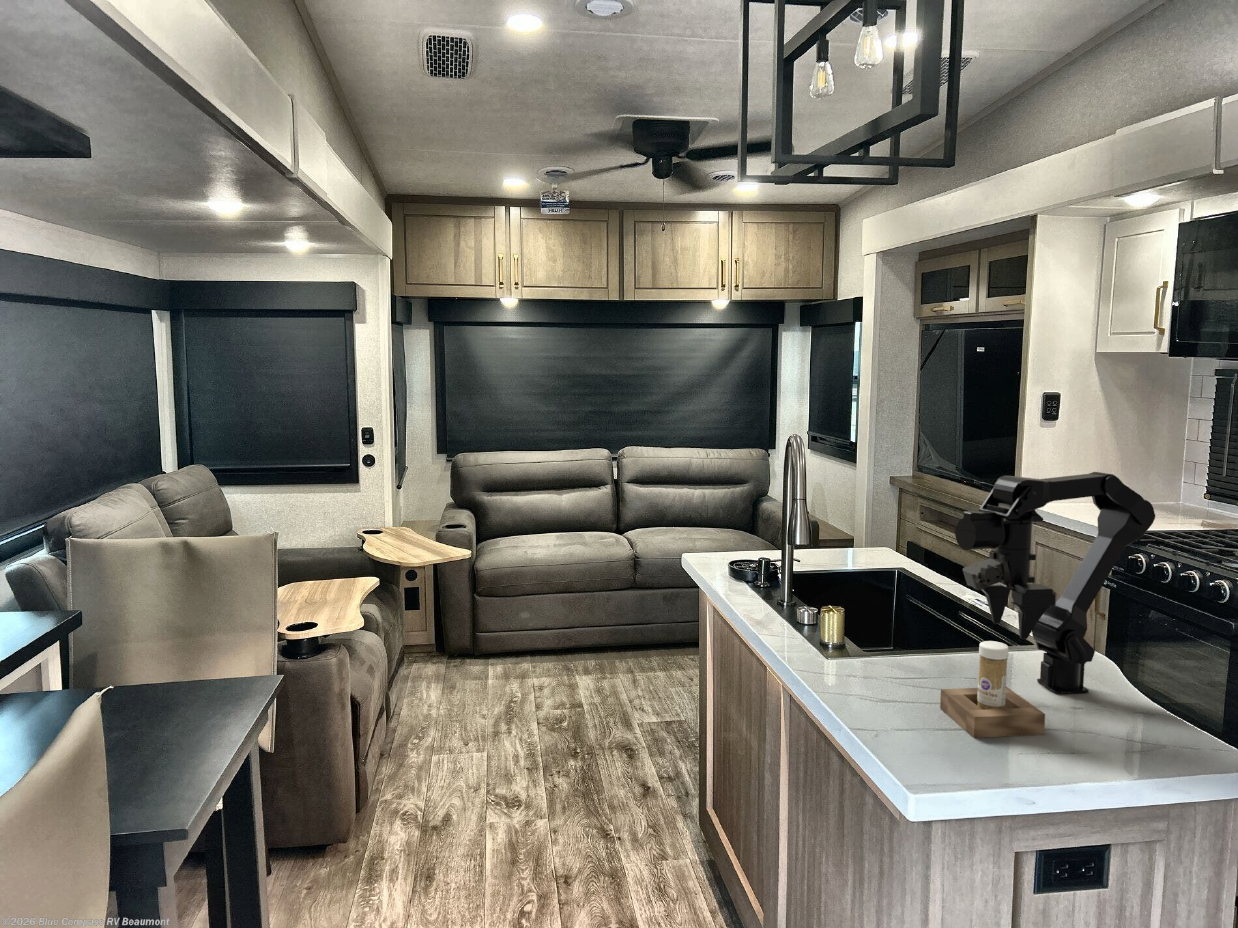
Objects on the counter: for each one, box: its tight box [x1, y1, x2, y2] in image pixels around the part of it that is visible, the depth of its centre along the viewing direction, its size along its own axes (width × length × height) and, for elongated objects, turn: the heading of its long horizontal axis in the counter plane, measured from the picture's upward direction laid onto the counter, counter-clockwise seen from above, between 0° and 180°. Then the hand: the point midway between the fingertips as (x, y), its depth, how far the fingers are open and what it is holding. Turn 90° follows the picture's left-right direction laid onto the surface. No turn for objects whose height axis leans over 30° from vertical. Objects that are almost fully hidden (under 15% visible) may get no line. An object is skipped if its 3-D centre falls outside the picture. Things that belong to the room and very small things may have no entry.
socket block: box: [939, 686, 1046, 738], centre depth 146 cm, size 12×12×4 cm
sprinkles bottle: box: [977, 640, 1009, 710], centre depth 146 cm, size 5×5×14 cm
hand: (1009, 630), depth 157 cm, fingers open, 9 cm apart
